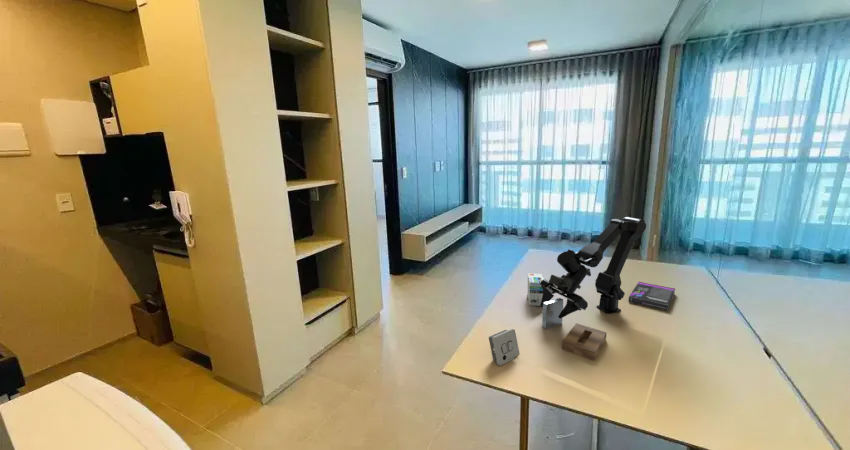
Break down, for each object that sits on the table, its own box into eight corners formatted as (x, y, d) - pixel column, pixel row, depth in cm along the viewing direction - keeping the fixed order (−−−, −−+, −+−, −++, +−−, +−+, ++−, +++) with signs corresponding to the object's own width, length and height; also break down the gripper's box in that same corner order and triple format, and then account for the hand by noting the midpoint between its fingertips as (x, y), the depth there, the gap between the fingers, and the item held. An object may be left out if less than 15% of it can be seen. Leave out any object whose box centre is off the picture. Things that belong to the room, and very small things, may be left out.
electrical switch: (499, 367, 105) (497, 340, 104) (488, 360, 110) (486, 333, 108) (520, 356, 110) (518, 330, 109) (509, 350, 114) (507, 325, 113)
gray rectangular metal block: (558, 324, 128) (559, 297, 125) (561, 326, 126) (563, 299, 124) (542, 329, 125) (543, 302, 122) (545, 331, 123) (546, 304, 121)
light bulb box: (545, 306, 142) (546, 283, 139) (529, 305, 143) (529, 282, 141) (542, 295, 152) (543, 273, 149) (526, 294, 153) (527, 272, 151)
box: (637, 288, 156) (627, 302, 142) (638, 281, 156) (628, 295, 142) (674, 295, 147) (667, 312, 133) (675, 288, 146) (668, 304, 132)
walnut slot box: (575, 333, 122) (576, 323, 121) (605, 342, 115) (606, 332, 114) (561, 351, 111) (562, 341, 110) (593, 363, 105) (594, 352, 104)
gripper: (544, 259, 130) (521, 291, 128) (584, 275, 113) (557, 313, 112) (558, 274, 135) (536, 305, 133) (598, 292, 118) (573, 328, 117)
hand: (549, 312), depth 124 cm, fingers open, 9 cm apart
